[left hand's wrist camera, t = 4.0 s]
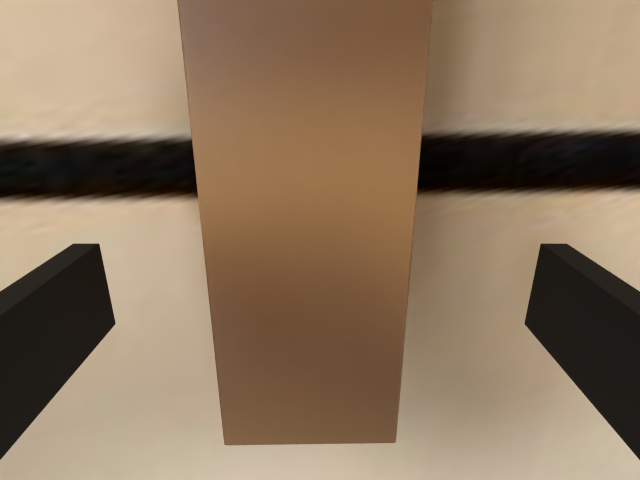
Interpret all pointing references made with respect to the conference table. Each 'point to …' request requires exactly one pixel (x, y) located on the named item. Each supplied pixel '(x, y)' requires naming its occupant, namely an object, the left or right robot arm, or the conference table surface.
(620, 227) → the conference table surface
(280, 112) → the beam
